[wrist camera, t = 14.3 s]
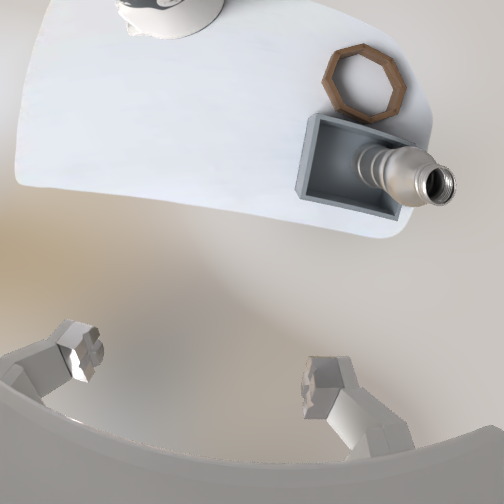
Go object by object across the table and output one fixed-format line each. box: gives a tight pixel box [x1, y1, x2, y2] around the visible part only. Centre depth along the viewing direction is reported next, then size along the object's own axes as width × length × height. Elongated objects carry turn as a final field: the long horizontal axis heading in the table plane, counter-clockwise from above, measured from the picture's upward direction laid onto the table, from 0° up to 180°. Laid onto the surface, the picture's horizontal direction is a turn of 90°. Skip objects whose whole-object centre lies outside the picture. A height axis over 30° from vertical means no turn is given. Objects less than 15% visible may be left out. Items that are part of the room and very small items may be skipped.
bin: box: [295, 113, 415, 221], centre depth 35 cm, size 14×11×7 cm
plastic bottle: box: [351, 143, 456, 207], centre depth 29 cm, size 6×7×20 cm
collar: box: [322, 43, 406, 124], centre depth 32 cm, size 12×12×3 cm
